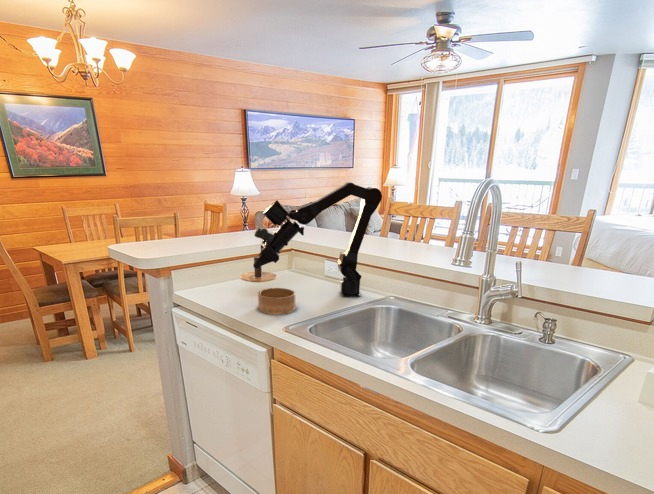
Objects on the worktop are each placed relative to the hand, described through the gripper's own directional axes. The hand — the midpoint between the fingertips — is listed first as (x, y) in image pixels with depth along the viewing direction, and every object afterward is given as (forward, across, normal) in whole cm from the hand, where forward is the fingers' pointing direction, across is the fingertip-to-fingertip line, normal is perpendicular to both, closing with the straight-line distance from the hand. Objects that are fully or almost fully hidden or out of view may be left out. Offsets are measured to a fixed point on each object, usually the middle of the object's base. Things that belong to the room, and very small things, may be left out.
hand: (254, 266), depth 159 cm
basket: (+3, +16, +13) cm, 20 cm away
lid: (+2, 0, +4) cm, 4 cm away
